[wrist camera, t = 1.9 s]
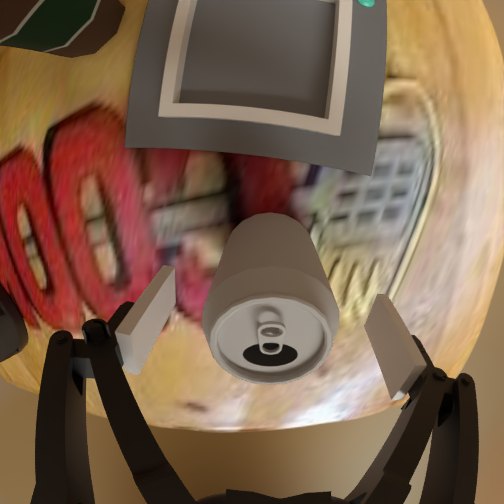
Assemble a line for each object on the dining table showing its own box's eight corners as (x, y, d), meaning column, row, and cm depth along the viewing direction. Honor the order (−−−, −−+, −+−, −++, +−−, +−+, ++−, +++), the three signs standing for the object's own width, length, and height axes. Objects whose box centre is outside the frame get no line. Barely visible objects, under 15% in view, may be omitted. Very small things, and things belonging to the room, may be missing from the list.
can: (228, 288, 25) (204, 391, 14) (224, 209, 22) (184, 282, 11) (309, 289, 25) (332, 392, 14) (315, 210, 22) (360, 284, 11)
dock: (130, 147, 20) (115, 149, 18) (161, -25, 13) (152, -36, 11) (366, 174, 20) (378, 179, 18) (382, -4, 13) (392, -14, 11)
